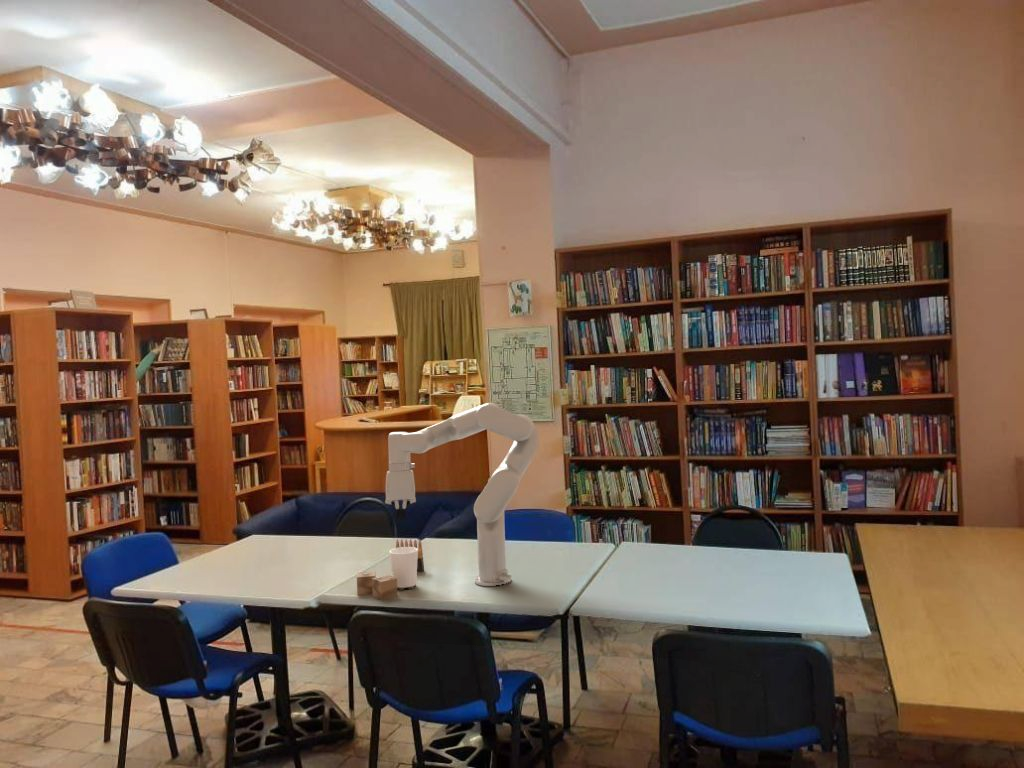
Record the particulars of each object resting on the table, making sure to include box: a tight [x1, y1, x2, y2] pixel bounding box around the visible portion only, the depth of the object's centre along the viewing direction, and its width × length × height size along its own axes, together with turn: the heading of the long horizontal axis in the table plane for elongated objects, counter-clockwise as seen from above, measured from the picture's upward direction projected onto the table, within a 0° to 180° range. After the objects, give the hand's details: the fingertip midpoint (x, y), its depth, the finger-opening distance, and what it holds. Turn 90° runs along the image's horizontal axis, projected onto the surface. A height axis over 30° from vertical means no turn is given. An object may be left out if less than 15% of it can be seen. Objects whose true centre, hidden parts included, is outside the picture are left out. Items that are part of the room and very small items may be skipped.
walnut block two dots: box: [372, 574, 398, 601], centre depth 246 cm, size 6×6×6 cm
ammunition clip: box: [395, 538, 425, 573], centre depth 276 cm, size 11×2×12 cm, turn 78°
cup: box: [389, 546, 418, 591], centre depth 255 cm, size 10×10×13 cm
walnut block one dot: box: [356, 571, 377, 596], centre depth 252 cm, size 6×6×6 cm
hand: (401, 519), depth 259 cm, fingers closed
